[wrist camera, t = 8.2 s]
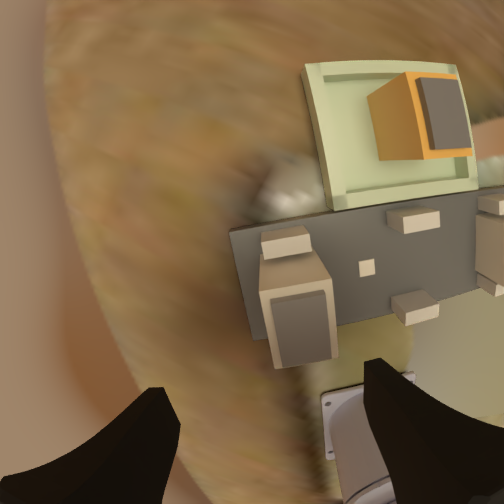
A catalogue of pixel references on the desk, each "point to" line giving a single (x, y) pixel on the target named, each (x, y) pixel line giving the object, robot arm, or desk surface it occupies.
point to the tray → (372, 137)
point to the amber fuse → (420, 117)
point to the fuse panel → (365, 267)
